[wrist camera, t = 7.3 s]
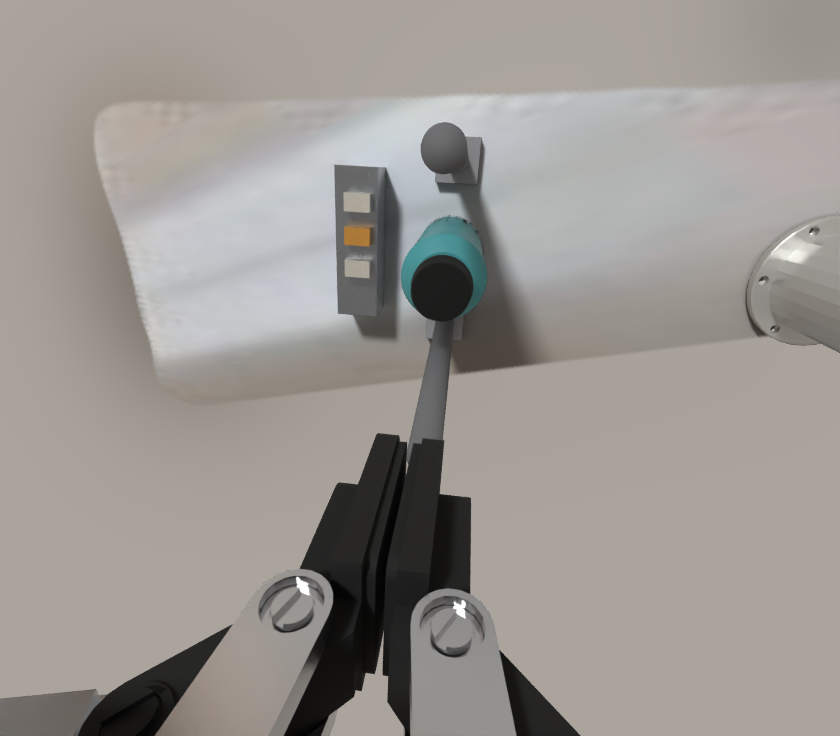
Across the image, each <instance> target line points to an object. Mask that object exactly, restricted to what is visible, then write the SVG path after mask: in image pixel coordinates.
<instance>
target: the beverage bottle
mask: <svg viewBox="0 0 840 736" xmlns="http://www.w3.org/2000/svg"><path fill="white" fill-rule="evenodd" d="M449 216H450V215H449ZM453 216H454V215H453ZM475 228H476V227H475ZM478 235H479V234H478V231H477V230H475V229H474V228H473V226H472V225H471V223H470V224H469V223H468V222H467V221H466V219H460V217H459V218H457V217H445V218H441V219H440V218H439V219H438V220H437V219H436V220H435V221H433V223H432V224H430V225H428V227H427V228H426V230H425V231H424V233H423V234H422V236H421V237H420V239H418V242H416V243H417V244H415V245H414V247H413V248H412V249H411V250H410V251H409V253H408V254H407V256H406V258H405V260H404V263H403V266H402V271H401V283H402V288H403V291H404V294H405V296H406V298H407V299H408V301H409V302H410V304H411V305H412V306H413V307H414V308H415V309H416V310H417V311H419V313H420V314H422V315H423V316H424V317H426V318H428V319H430V320H433V321H439V322H443V321H449V320H452V319H454V318H457V317H460V316H462V315H464V314H466V313H468V312H469V311H471V310H472V309H473V308H474V307H475V306H476V305H477V304H478V302H479V301H480V300H481V298H482V296H483V294H484V291H485V288H486V284H487V269H486V264H485V261H484V257H483V252H482V248H483V247H481V242H480V241H481V240H482V239H481V240H480V238H479V236H478ZM483 249H484V248H483Z"/></svg>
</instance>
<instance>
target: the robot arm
mask: <svg viewBox="0 0 840 736" xmlns="http://www.w3.org/2000/svg"><path fill="white" fill-rule="evenodd" d="M760 278H761V279H760ZM759 279H760V280H759ZM747 307H748V311H749V315H750V317H751V318H752V320H753V322H754V324H755V325H756V326H757V327H758V328H759V329H760V330H761V331H762V332H764V333H765V334H767V335H768V336H770V337H772V338H774V339H776V340H778V341H780V342H784V343H787V344H791V345H802V346H803V345H816V344H820V343H821V344H823V345H825V346H827V347H829V348H831V349H833V350H835V351H837V352H839V353H840V215H833V216H825V217H821V218H818V219H814V220H811V221H808V222H806V223H804V224H802V225H799V226H797V227H795V228H794V229H792V230H791V231H789V232H787V233H786V234H784V235H783V236H782V237H780V238H779V239H778V240H777V241H776V242H775V243H773V244H772V245H771V246H770V247H769V249H768V250H767V251H766V252H765V253H764V254H763V255H762V257H761V258H760V260H759V261H758V263H757V265H756V266H755V268H754V270H753V272H752V275H751V277H750V279H749V283H748V288H747ZM443 449H444V440H436V439H427V438H423V439H422V443H421V444H419V443H413V447H412V451H411V456H410V460H409V465H408V469H407V474H406V458H407V442H400V438H399V435H389V434H380V433H378V434H377V435H376V437H375V440H374V443H373V445H372V448H371V451H370V453H369V456H368V459H367V462H366V464H365V467H364V470H363V473H362V475H361V478H360V481H359V483H358V485H355V484H348V483H338V484H337V485H336V487H335V489H334V491H333V494H332V496H331V498H330V500H329V503H328V505H327V507H326V510H325V512H324V514H323V516H322V519H321V521H320V523H319V526H318V528H317V530H316V533H315V535H314V537H313V539H312V542H311V544H310V546H309V549H308V551H307V553H306V556H305V558H304V560H303V563H302V565H301V567H300V569H295V570H287V571H285V572H282V573H279V574H277V575H275V576H273V577H272V578H270V579H269V580H267V581H266V582H264V583H263V584H262V586H261V587H260V588H259V589H258V590H257V591H256V592H255V594H254V595H253V597H252V598H251V599H250V601H249V602H248V604H247V605H246V606H245V608H244V609H243V611H242V612H241V614H240V615H239V617H238V618H237V619H236V621H235V622H234V624H232V625H230V626H229V627H227V628H225V629H223V630H221V631H219V632H217V633H216V634H214V635H212V636H210V637H208V638H206V639H205V640H203V641H201V642H199V643H197V644H195V645H194V646H192V647H190V648H188V649H186V650H185V651H182V652H181V653H179V654H177V655H175V656H173V657H171V658H170V659H168V660H166V661H164V662H162V663H160V664H159V665H157V666H155V667H153V668H151V669H149V670H147V671H146V672H144V673H142V674H140V675H138V676H136V677H135V678H133V679H131V680H129V681H127V682H125V683H124V684H123V685H121V686H119V687H118V688H116V689H115V690H113V691H112V692H110V693H109V694H107V695H98V693H97V690H96V689H92V690H83V691H72V692H64V693H54V694H43V695H33V696H23V697H13V698H3V699H0V736H329V735H330V733H331V730H332V727H333V725H334V722H335V718H336V714H337V709H338V708H340V707H341V706H342V705H344V704H345V703H346V702H348V701H349V700H350V699H351V698H353V697H354V694H355V690H358V691H362V687H363V682H364V677H365V673H371V674H375V671H376V667H377V662H378V657H379V652H380V646H381V641H382V636H383V631H384V644H383V675H385V676H388V703H389V705H390V706H391V708H392V710H393V711H394V712H395V714H396V716H397V717H398V719H399V720H400V722H401V723H402V724H403V726H404V733H403V736H580V735H579V734H578V733H577V731H575V729H574V728H573V727H572V726H571V725H570V724H569V723H568V722H567V721H566V720H565V719H564V718H563V717H562V716H561V715H560V713H559V712H557V711H556V709H555V708H554V707H553V706H552V705H551V704H550V703H549V702H548V701H547V700H546V699H545V698H544V697H543V695H542V694H541V693H540V692H539V691H538V690H537V689H536V688H535V687H534V686H533V685H532V684H531V683H530V682H529V681H528V680H527V679H526V678H525V676H524V675H523V674H522V673H521V672H520V671H519V670H518V669H517V668H516V667H515V666H514V665H513V664H512V663H511V662H510V661H509V659H508V658H507V657H506V656H505V655H504V654H503V653H502V652H501V651H500V650H499V647H498V642H497V638H496V632H495V627H494V624H493V621H492V618H491V615H490V613H489V611H488V610H487V609H486V607H485V606H484V605H483V604H482V602H480V601H479V600H478V599H476V598H475V597H474V596H472V595H471V594H470V553H471V551H470V550H471V498H469V497H460V496H451V495H442V494H440V483H441V471H442V459H443Z"/></svg>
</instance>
